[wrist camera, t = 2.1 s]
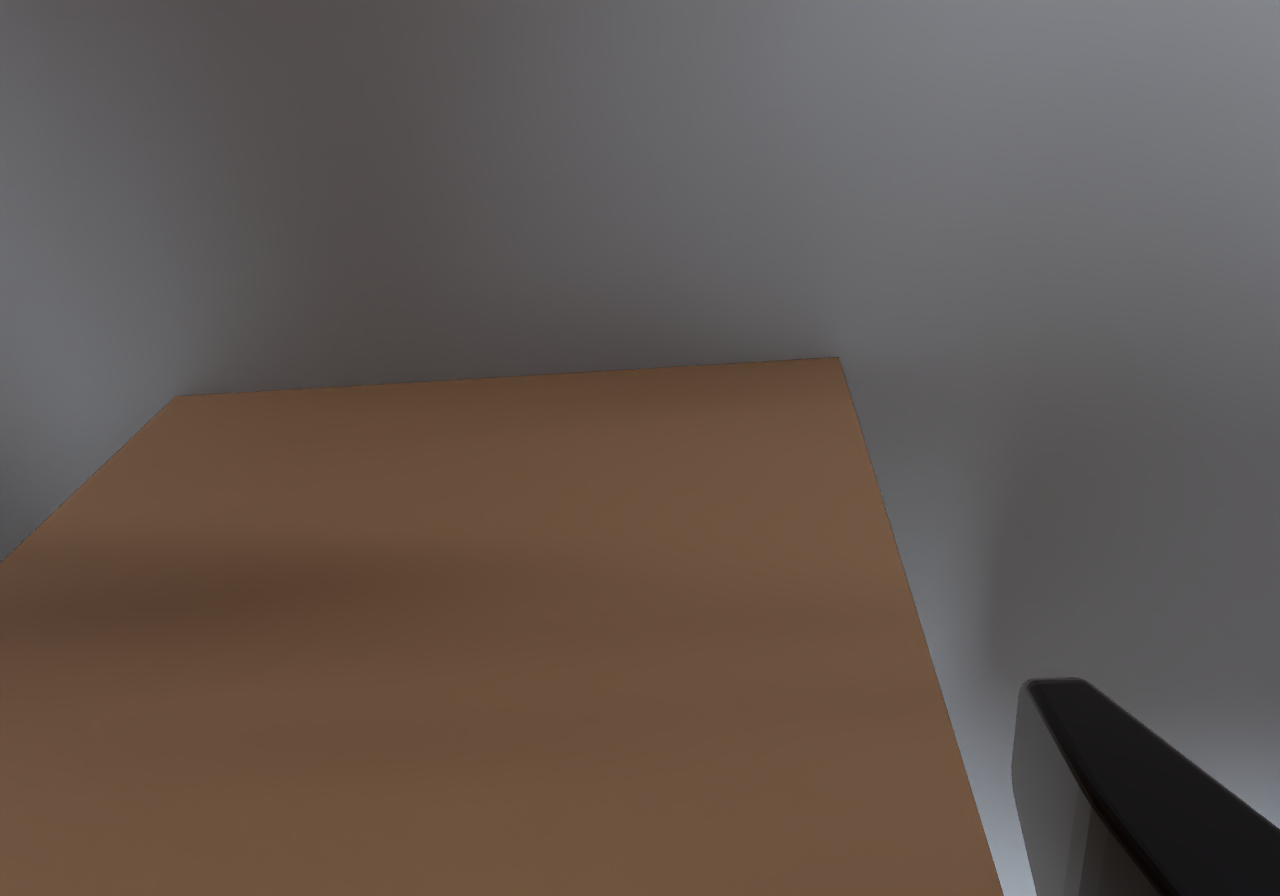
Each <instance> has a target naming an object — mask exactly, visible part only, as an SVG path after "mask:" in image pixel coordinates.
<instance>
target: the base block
mask: <svg viewBox="0 0 1280 896" xmlns="http://www.w3.org/2000/svg"><path fill="white" fill-rule="evenodd" d="M0 896H1004V895H1003V891H1002V888H1001V885H1000V881H999V878H998V875H997V872H996V868H995V865H994V862H993V859H992V855H991V852H990V849H989V846H988V842H987V839H986V836H985V833H984V829H983V826H982V823H981V819H980V816H979V813H978V810H977V806H976V803H975V800H974V797H973V793H972V790H971V787H970V784H969V780H968V777H967V774H966V771H965V767H964V764H963V761H962V757H961V754H960V751H959V748H958V744H957V741H956V738H955V735H954V731H953V728H952V725H951V722H950V718H949V715H948V712H947V709H946V705H945V702H944V699H943V695H942V692H941V689H940V686H939V682H938V679H937V676H936V673H935V669H934V666H933V663H932V660H931V656H930V653H929V650H928V647H927V643H926V640H925V637H924V633H923V630H922V627H921V624H920V620H919V617H918V614H917V611H916V607H915V604H914V601H913V598H912V594H911V591H910V588H909V585H908V581H907V578H906V575H905V571H904V568H903V565H902V562H901V558H900V555H899V552H898V549H897V545H896V542H895V539H894V536H893V532H892V529H891V526H890V523H889V519H888V516H887V513H886V509H885V506H884V503H883V500H882V496H881V493H880V490H879V487H878V483H877V480H876V477H875V474H874V470H873V467H872V464H871V461H870V457H869V454H868V451H867V447H866V444H865V441H864V438H863V434H862V431H861V428H860V425H859V421H858V418H857V415H856V412H855V408H854V405H853V402H852V398H851V395H850V392H849V389H848V385H847V382H846V379H845V376H844V372H843V369H842V366H841V363H840V359H839V357H832V358H815V359H798V360H781V361H764V362H747V363H730V364H713V365H696V366H679V367H662V368H645V369H628V370H612V371H595V372H578V373H561V374H544V375H527V376H510V377H493V378H476V379H459V380H442V381H425V382H408V383H391V384H375V385H358V386H341V387H324V388H307V389H290V390H273V391H256V392H239V393H222V394H205V395H188V396H175V397H174V398H173V399H172V400H171V401H170V402H169V403H168V404H167V405H166V406H165V407H164V408H163V409H162V410H161V411H160V412H159V413H157V414H156V415H155V416H154V417H153V418H152V419H151V420H150V421H149V422H148V423H147V424H146V425H145V426H144V427H143V428H142V429H141V430H140V431H139V432H138V433H136V434H135V435H134V436H133V437H132V438H131V439H130V440H129V441H128V442H127V443H126V444H125V445H124V446H123V447H122V448H121V449H120V450H119V451H118V452H117V453H115V454H114V455H113V456H112V457H111V458H110V459H109V460H108V461H107V462H106V463H105V464H104V465H103V466H102V467H101V468H100V469H99V470H98V471H97V472H96V473H94V474H93V475H92V476H91V477H90V478H89V479H88V480H87V481H86V482H85V483H84V484H83V485H82V486H81V487H80V488H79V489H78V490H77V491H76V492H75V493H74V494H72V495H71V496H70V497H69V498H68V499H67V500H66V501H65V502H64V503H63V504H62V505H61V506H60V507H59V508H58V509H57V510H56V511H55V512H54V513H53V514H51V515H50V516H49V517H48V518H47V519H46V520H45V521H44V522H43V523H42V524H41V525H40V526H39V527H38V528H37V529H36V530H35V531H34V532H33V533H32V534H30V535H29V536H28V537H27V538H26V539H25V540H24V541H23V542H22V543H21V544H20V545H19V546H18V547H17V548H16V549H15V550H14V551H13V552H12V553H11V554H9V555H8V556H7V557H6V558H5V559H4V560H3V561H2V562H1V563H0Z"/></svg>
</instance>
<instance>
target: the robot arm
mask: <svg viewBox="0 0 1280 896" xmlns="http://www.w3.org/2000/svg"><path fill="white" fill-rule="evenodd" d="M1011 769H1012V785H1013V792H1014V798H1015V803H1016V807H1017V811H1018V816H1019V820H1020V824H1021V829H1022V833H1023V837H1024V842H1025V846H1026V850H1027V855H1028V859H1029V863H1030V867H1031V872H1032V876H1033V880H1034V885H1035V889H1036V893H1037V896H1280V829H1279V828H1277V827H1276V826H1275V825H1273V824H1272V823H1271V822H1269V821H1268V820H1267V819H1266V818H1264V817H1263V816H1262V815H1260V814H1259V813H1258V812H1256V811H1255V810H1254V809H1253V808H1251V807H1250V806H1249V805H1247V804H1246V803H1245V802H1243V801H1242V800H1241V799H1240V798H1238V797H1237V796H1236V795H1234V794H1233V793H1232V792H1230V791H1229V790H1228V789H1227V788H1225V787H1224V786H1223V785H1221V784H1220V783H1219V782H1218V781H1216V780H1215V779H1214V778H1212V777H1211V776H1210V775H1208V774H1207V773H1206V772H1205V771H1203V770H1202V769H1201V768H1199V767H1198V766H1197V765H1195V764H1194V763H1193V762H1192V761H1190V760H1189V759H1188V758H1186V757H1185V756H1184V755H1182V754H1181V753H1180V752H1179V751H1177V750H1176V749H1175V748H1173V747H1172V746H1171V745H1169V744H1168V743H1167V742H1166V741H1164V740H1163V739H1162V738H1160V737H1159V736H1158V735H1156V734H1155V733H1154V732H1153V731H1151V730H1150V729H1149V728H1147V727H1146V726H1145V725H1144V724H1142V723H1141V722H1140V721H1138V720H1137V719H1136V718H1134V717H1133V716H1132V715H1131V714H1129V713H1128V712H1127V711H1125V710H1124V709H1123V708H1121V707H1120V706H1119V705H1118V704H1116V703H1115V702H1114V701H1112V700H1111V699H1110V698H1108V697H1107V696H1106V695H1105V694H1103V693H1102V692H1101V691H1099V690H1098V689H1097V688H1095V687H1094V686H1093V685H1092V684H1090V683H1089V682H1087V681H1085V680H1083V679H1081V678H1075V677H1065V678H1033V679H1029V680H1028V681H1026V682H1025V683H1024V684H1023V685H1022V687H1021V689H1020V692H1019V697H1018V705H1017V715H1016V725H1015V735H1014V744H1013V754H1012V766H1011Z"/></svg>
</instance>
